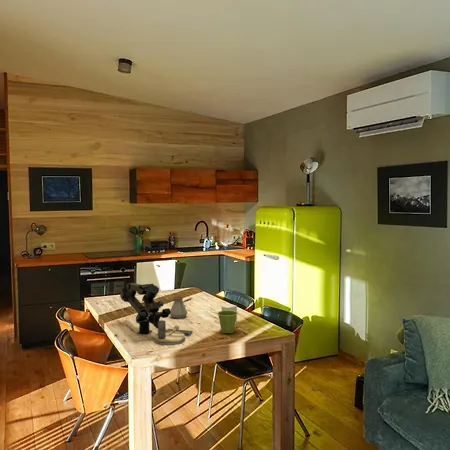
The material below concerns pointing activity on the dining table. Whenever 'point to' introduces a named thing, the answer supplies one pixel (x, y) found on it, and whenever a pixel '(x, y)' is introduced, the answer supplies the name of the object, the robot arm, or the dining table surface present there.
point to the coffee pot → (179, 307)
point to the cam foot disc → (168, 334)
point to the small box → (230, 308)
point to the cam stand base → (186, 333)
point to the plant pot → (227, 321)
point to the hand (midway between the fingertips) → (158, 328)
